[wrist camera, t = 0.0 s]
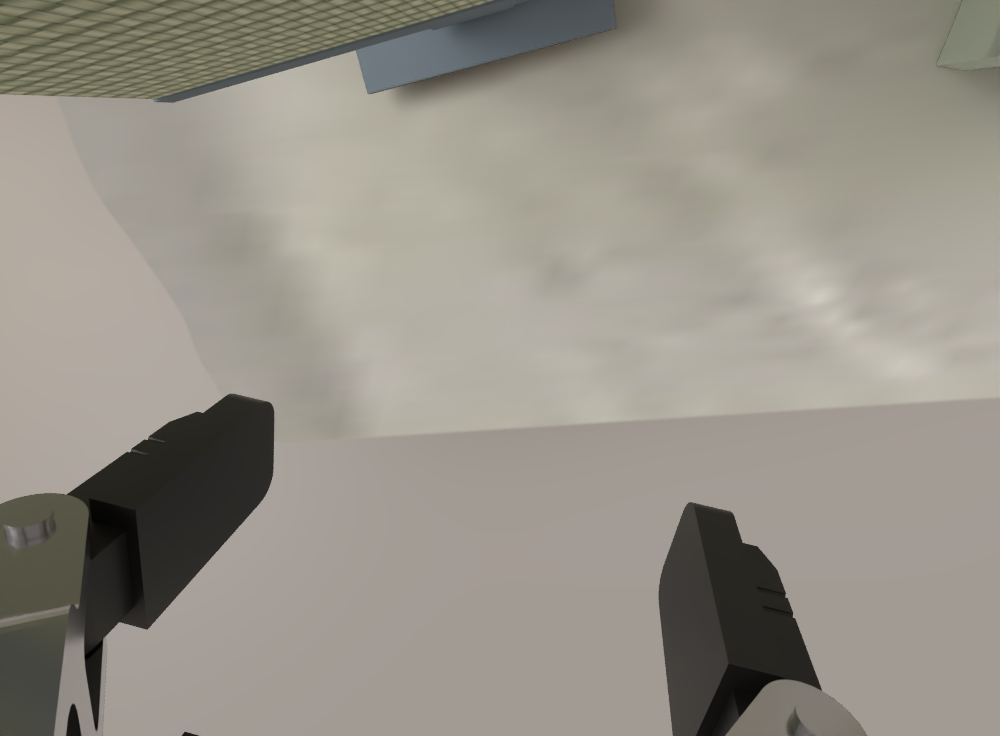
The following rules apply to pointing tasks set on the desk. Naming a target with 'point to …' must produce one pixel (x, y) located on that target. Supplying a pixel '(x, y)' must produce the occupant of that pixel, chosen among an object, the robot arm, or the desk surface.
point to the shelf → (973, 37)
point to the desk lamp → (266, 40)
